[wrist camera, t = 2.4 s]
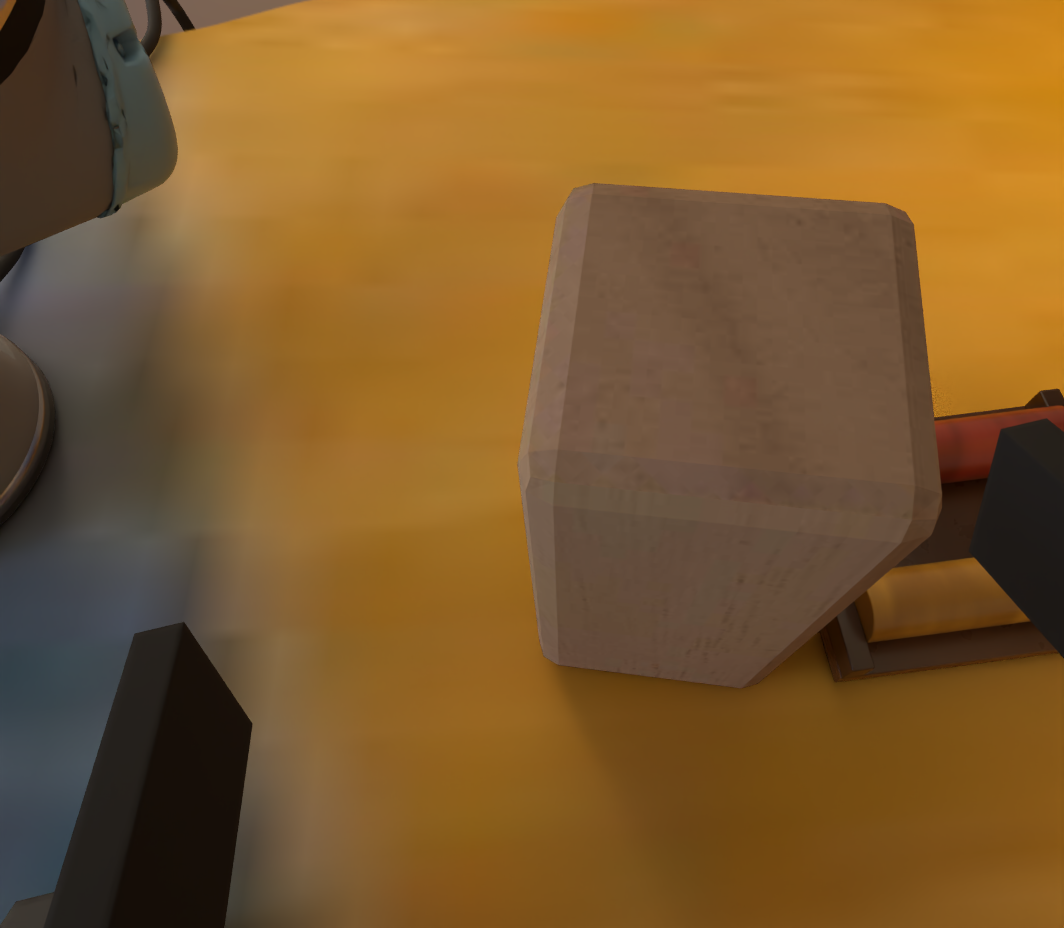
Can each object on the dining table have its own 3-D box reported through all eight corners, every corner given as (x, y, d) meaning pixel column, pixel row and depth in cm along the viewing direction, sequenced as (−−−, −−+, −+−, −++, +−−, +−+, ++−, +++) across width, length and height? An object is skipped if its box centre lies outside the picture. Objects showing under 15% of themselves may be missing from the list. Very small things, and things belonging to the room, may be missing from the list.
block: (760, 491, 39) (926, 189, 21) (759, 695, 35) (966, 532, 17) (562, 471, 40) (560, 165, 22) (537, 666, 36) (509, 483, 18)
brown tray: (766, 447, 40) (785, 407, 37) (1032, 413, 40) (1077, 370, 37) (834, 682, 35) (864, 664, 31) (1140, 642, 35) (1205, 618, 32)
